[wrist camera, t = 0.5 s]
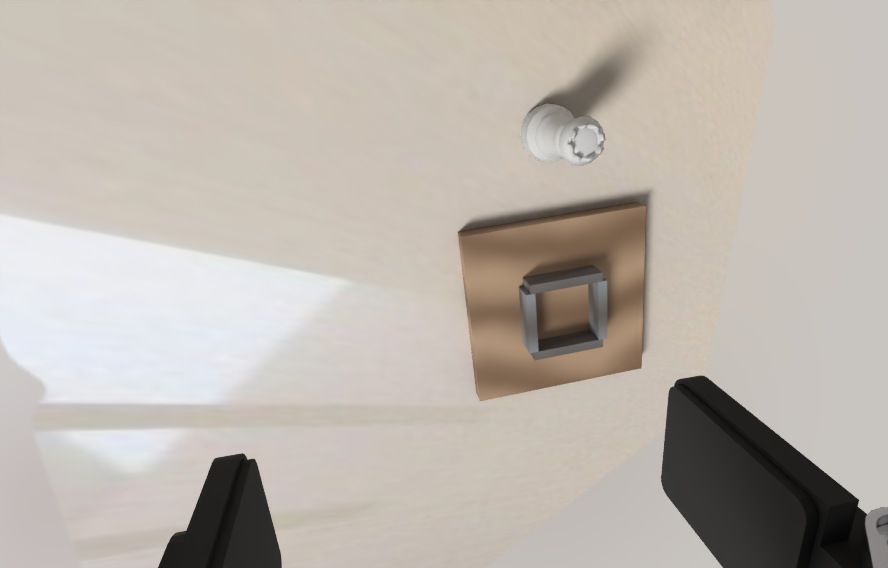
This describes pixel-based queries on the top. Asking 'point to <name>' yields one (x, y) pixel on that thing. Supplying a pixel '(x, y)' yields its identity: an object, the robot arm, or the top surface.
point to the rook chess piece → (561, 136)
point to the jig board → (555, 298)
